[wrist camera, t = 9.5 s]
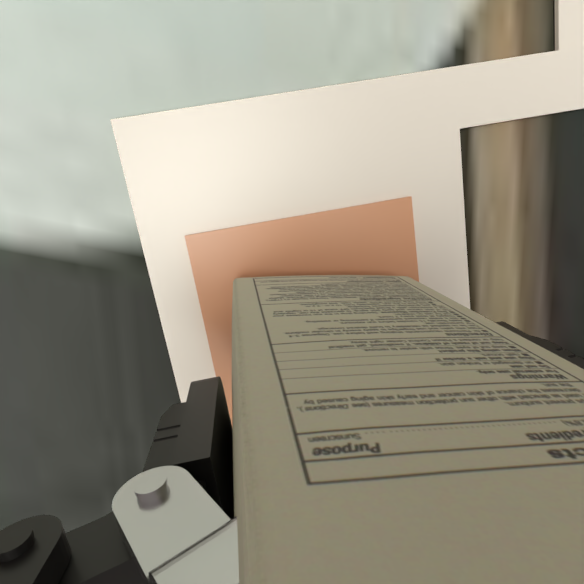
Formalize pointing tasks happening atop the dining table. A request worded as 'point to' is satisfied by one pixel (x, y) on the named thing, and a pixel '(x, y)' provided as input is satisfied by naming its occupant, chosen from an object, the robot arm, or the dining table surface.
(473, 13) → the dining table surface
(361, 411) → the skincare box
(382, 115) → the window card
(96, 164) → the dining table surface
